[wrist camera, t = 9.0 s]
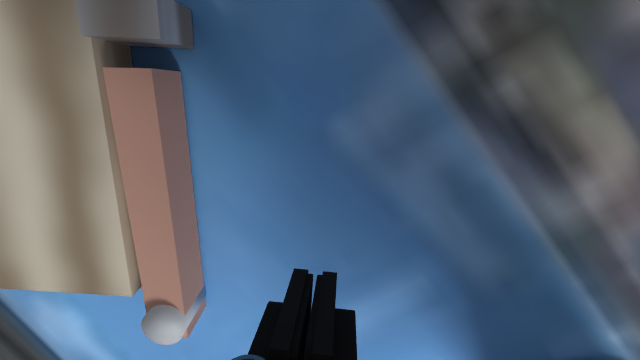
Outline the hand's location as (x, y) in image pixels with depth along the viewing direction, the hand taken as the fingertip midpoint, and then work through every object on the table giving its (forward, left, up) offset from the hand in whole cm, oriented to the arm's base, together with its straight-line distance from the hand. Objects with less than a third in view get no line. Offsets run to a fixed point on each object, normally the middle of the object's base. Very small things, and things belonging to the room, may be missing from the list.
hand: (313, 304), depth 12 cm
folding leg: (+9, 0, -9) cm, 13 cm away
